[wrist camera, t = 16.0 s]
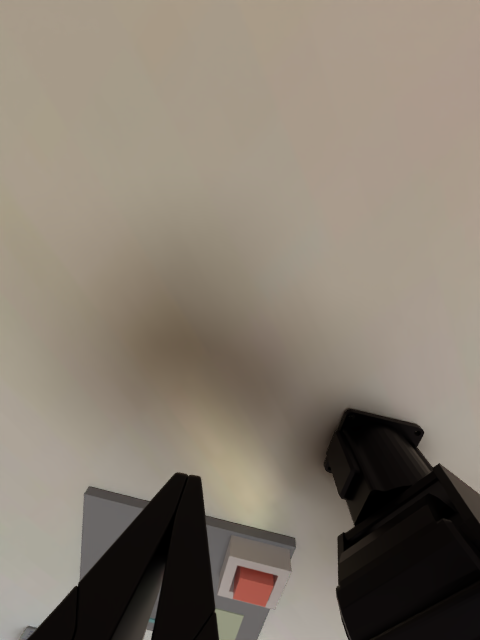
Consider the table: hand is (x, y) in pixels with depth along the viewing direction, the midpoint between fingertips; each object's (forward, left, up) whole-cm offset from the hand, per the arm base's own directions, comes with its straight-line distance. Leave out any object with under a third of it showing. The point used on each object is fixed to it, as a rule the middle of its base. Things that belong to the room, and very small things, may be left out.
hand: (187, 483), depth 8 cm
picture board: (0, +30, -13) cm, 32 cm away
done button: (-7, +23, -11) cm, 27 cm away
